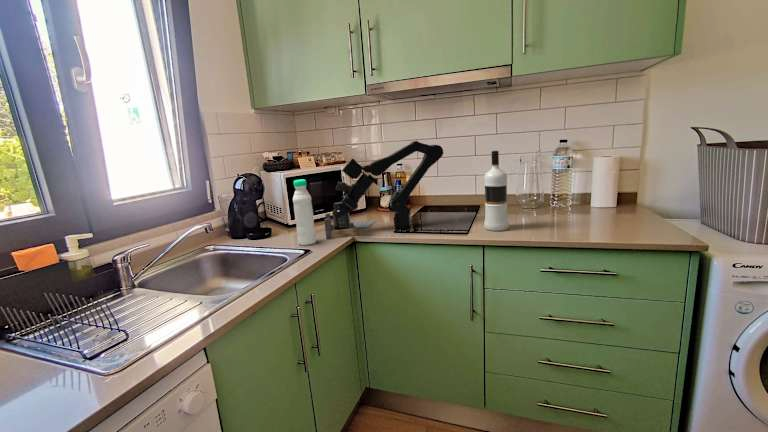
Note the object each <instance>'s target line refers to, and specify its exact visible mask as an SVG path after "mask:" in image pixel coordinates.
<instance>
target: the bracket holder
mask: <svg viewBox="0 0 768 432" xmlns="http://www.w3.org/2000/svg"><path fill="white" fill-rule="evenodd" d="M324 216H325V218H324V221H323V222H324V229H325V230H324V231H325V237H326V238H325V240H331V239H338V238H349V236H350V237H357V236H358V230H357V229H358V228H356V226H354V224H353V223H350V227H351V229H342V230H334V223H332V218H331V216H332V215H331V213H330V212H329V213H325V215H324Z"/></svg>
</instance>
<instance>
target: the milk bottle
mask: <svg viewBox="0 0 768 432" xmlns="http://www.w3.org/2000/svg"><path fill="white" fill-rule="evenodd" d="M307 183H308V182H307V179H303V178H302V179H294V180H293V186H294V189H295V190H294V193H293V197H292V203H293V213H294V219H295V220H294V221H295V225H296V234H297V244H298V245H301V246H312V245H314V244H315V243H316V242H317V236H316V226H315V220H314V217H315V216H314V209H313V203H312V196H311V194H310V193H309V191H308V189H307Z"/></svg>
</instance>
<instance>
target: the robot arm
mask: <svg viewBox="0 0 768 432" xmlns="http://www.w3.org/2000/svg"><path fill="white" fill-rule="evenodd" d="M416 152H418V153H422V154H423V157H422V159H421V162H420V163H419V164H418V166H417V167H416V169H414V171H413V172H412V174H411V175H410V177H409V178H408V179H407V181H406V182H405V184H404V185H403V186H402V188H401V189H399V190H397V189H395V190H394V191H393V194H392V195H390V196H389V198H390V200H389V205H390V208H391V209H392V210H393V211H394V212H395V213H394V216H393V225H394V226H393V227H394V230H398V229H399V230H406V229H407V230H408V229H409V230H410V229H411V228H412V227H413V223H412V217H411V216H412V215H411V214H412V213H411V208H410V207H409V206H408V205H407V203H408V200H409V198H410V195H411V194H412V193H413V191H414V189H415V188H416V187H417V186H418V184H419V183H420V182H421V180H422V178H423V177H424V176H425V175H426V173H427V172H428V170H429V169H430V168H431V167H432V166H433V165H434V164H436V163H437V162H439V160H440V159H441V158H442V157H443V155H444V149H443V147H442V146H440V145H439V144H431V145H429V144H426V143H423V142H420V141H417V140H413V141H411V142H410V143H409V144H407V145H405V146H404V147H402V148H400V149H398V150H396V151H395V152H393V153H391V154H389V155H388V156H385V157H383V158H379V159H376V160H372V161H371V162H370V163H369V164H367V165H360V163H358V162H357V161H356V160H355V159H354V158H351V159H350V161H349V162H347V163H346V165H345V166H344V167H343V168H342V170H341V171H342V172H343V173H344V174H345V175H346V176H348V178H350V179H351V180H354V179H355V180H356V181H355V182H354V183H352V184H351V185H349V184H348V183H347V182H344V181H337V185H336V186H335V190H336V191H339V192H343V193H342V196H341V199H342V200H341V202H342V204H343V205H342V207H341V209H340V211H339V213H338V214H337V217H338V218H340V217H342V216H343V215H345V214H347V213H349V214H350V213H351V212H353V211H357V209H358V208H359V203H360V199H362V197H363V196H365V195H366V192H367V191H368V190H369V189H370V188H371V186H372V184H374V185H376V186H378V185H379V181H378V180H379V178H378V176H381V175H382V174H383V173H385V172H386V171H387V170H388V169H389V168H390V167H392V166H393V165H394V164H396V163H398V162H399V161H401V160H404V159H405V158H407V157H408V156H410V155H412V154H413V153H416ZM366 173H369V174H368V175H367V174H366ZM373 176H375V177H373Z"/></svg>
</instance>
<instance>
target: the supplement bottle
mask: <svg viewBox="0 0 768 432" xmlns="http://www.w3.org/2000/svg"><path fill="white" fill-rule="evenodd" d="M342 205H343V204H342V201H337V202H334V203H333V208H334V209H333V210H332V213H331V214H332V215H331V216H332V221H333V224H334V230H342V229H351V227H350V222H351V221H350V212H349V213H347V214H345V215H343V216H342V217H340V218H338V217H337V214H338V213H339V211H340V209H341V207H342Z"/></svg>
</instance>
